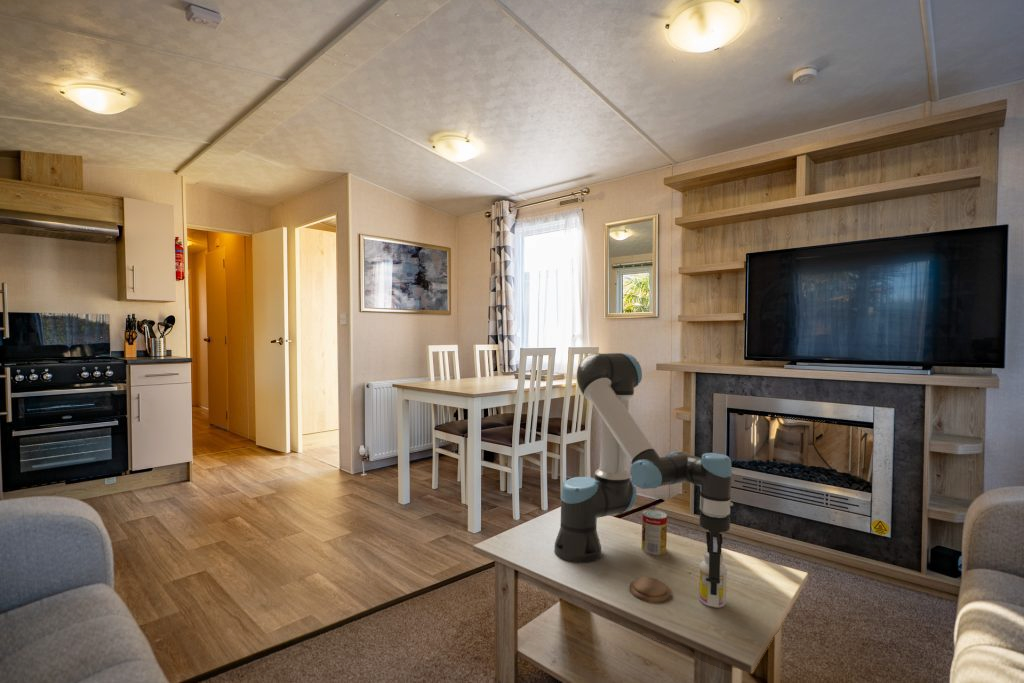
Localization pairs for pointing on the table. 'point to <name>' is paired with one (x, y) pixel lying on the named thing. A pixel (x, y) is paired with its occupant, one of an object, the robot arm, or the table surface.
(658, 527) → the canned food
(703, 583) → the supplement bottle
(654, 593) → the plinth
